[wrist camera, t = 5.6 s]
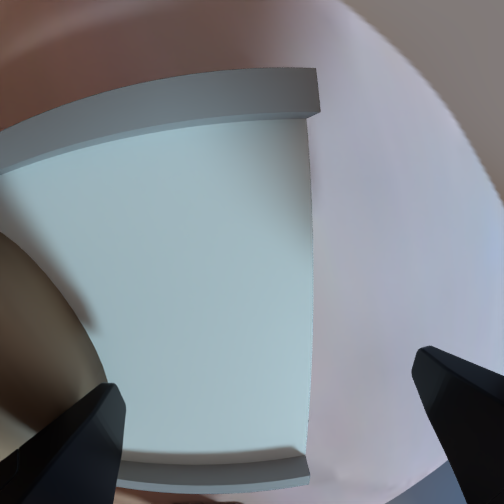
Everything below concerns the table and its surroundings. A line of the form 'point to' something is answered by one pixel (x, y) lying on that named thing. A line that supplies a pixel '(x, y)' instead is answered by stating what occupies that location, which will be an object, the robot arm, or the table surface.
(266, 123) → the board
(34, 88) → the table surface
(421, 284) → the table surface
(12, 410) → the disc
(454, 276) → the table surface
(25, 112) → the table surface
